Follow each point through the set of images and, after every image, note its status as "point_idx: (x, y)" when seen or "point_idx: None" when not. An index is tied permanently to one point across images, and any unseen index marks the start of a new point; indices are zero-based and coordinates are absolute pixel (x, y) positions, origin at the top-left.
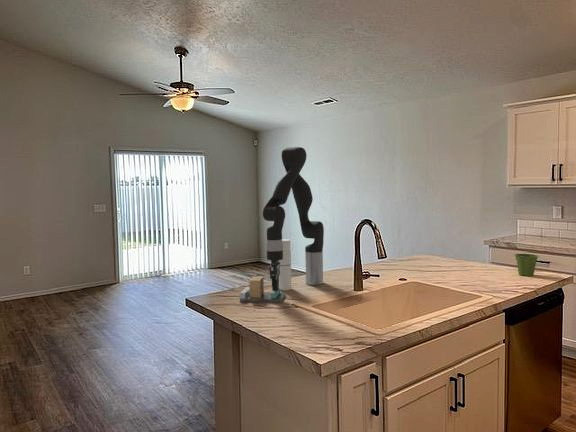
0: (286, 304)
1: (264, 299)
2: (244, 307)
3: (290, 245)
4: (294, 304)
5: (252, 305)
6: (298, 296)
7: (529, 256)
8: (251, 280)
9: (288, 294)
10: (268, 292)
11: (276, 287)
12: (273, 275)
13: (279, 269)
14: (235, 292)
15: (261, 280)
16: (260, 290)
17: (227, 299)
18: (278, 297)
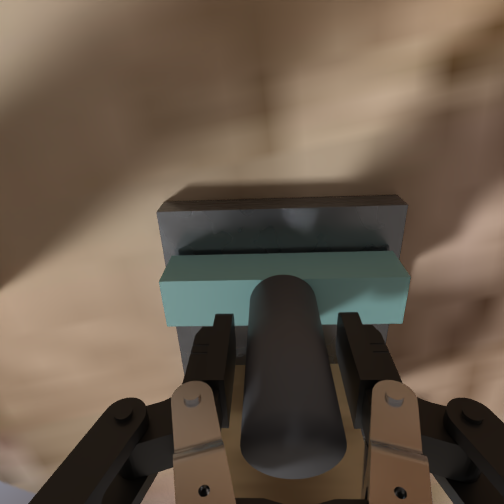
0: (453, 132)
1: (387, 328)
2: (497, 395)
3: None
4: (462, 45)
5: (454, 366)
6: (147, 66)
7: None
8: None
9: (103, 185)
10: (179, 342)
11: (317, 309)
12: (326, 461)
13: (212, 495)
14: (159, 492)
15: (300, 489)
16: (342, 408)
17: None
18: (332, 239)
